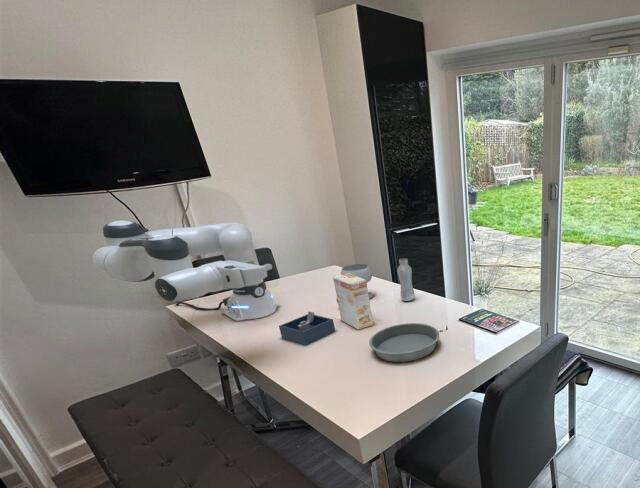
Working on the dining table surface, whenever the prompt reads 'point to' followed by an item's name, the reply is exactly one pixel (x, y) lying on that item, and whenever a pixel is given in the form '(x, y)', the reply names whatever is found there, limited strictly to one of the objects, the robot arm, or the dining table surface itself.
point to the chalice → (359, 272)
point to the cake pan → (404, 342)
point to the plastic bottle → (405, 280)
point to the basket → (316, 331)
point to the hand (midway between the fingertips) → (261, 264)
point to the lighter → (304, 324)
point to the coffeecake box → (353, 300)
